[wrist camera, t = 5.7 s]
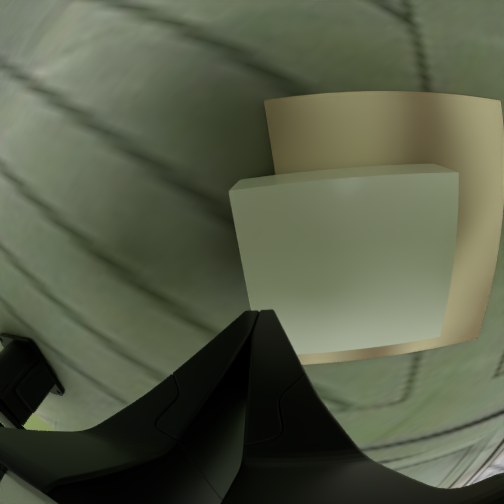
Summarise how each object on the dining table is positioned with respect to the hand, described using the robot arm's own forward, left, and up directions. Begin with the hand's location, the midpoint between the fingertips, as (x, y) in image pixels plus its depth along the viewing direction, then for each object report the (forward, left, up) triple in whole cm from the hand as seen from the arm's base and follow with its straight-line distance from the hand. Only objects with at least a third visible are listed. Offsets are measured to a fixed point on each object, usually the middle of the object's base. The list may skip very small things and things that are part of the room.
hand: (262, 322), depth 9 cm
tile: (-1, 0, -3) cm, 3 cm away
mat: (+6, 0, -5) cm, 8 cm away
